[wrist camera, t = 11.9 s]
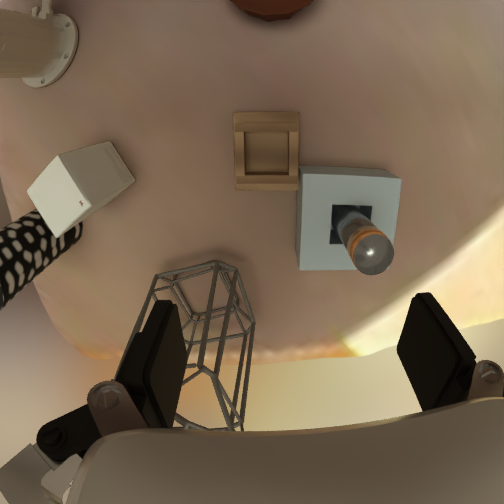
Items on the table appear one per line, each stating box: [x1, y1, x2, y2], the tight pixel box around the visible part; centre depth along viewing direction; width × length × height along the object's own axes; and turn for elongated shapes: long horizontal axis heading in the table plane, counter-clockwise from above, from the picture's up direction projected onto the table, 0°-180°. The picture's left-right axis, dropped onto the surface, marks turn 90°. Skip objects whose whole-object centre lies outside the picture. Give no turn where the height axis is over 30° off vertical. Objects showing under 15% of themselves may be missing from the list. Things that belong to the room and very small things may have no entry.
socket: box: [295, 165, 402, 270], centre depth 38 cm, size 12×12×6 cm
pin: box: [331, 204, 394, 275], centre depth 33 cm, size 4×4×14 cm
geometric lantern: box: [111, 261, 255, 431], centre depth 32 cm, size 16×16×35 cm
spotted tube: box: [0, 209, 82, 310], centre depth 34 cm, size 8×8×20 cm
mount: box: [233, 112, 299, 191], centre depth 36 cm, size 10×8×4 cm
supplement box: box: [27, 141, 135, 238], centre depth 34 cm, size 7×7×13 cm
